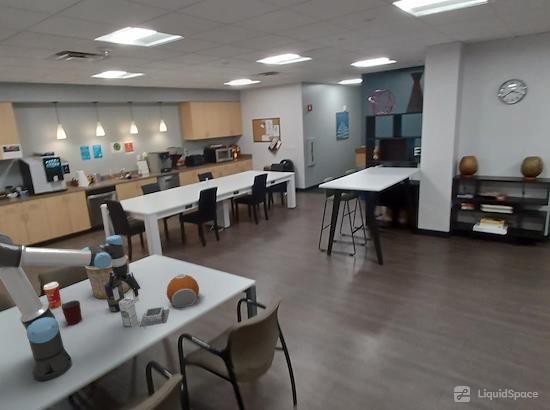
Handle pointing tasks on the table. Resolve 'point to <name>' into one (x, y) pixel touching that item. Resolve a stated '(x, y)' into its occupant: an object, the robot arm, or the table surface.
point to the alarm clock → (182, 290)
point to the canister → (111, 300)
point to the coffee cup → (53, 294)
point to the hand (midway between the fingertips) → (126, 300)
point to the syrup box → (128, 312)
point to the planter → (103, 279)
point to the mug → (72, 312)
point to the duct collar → (154, 316)
